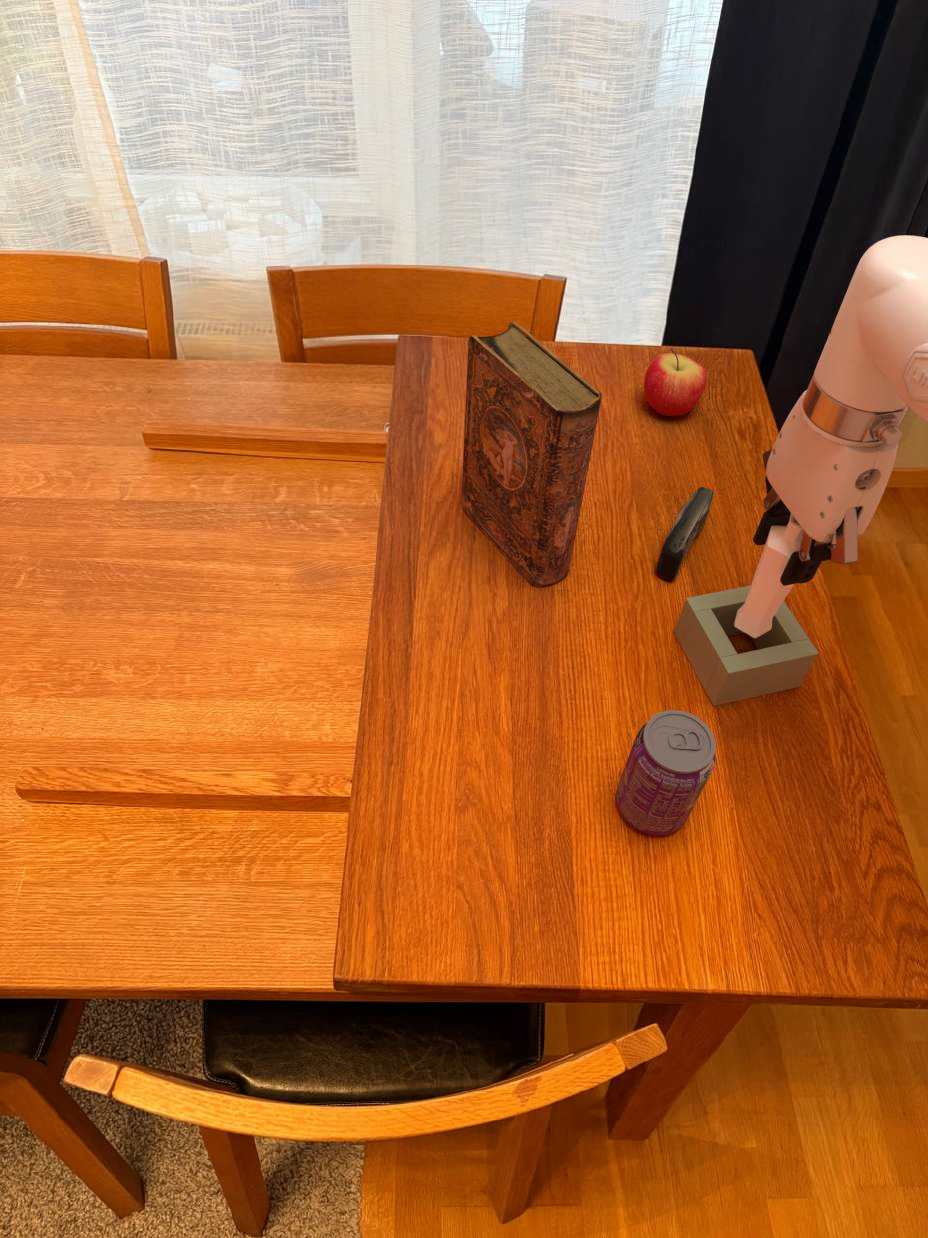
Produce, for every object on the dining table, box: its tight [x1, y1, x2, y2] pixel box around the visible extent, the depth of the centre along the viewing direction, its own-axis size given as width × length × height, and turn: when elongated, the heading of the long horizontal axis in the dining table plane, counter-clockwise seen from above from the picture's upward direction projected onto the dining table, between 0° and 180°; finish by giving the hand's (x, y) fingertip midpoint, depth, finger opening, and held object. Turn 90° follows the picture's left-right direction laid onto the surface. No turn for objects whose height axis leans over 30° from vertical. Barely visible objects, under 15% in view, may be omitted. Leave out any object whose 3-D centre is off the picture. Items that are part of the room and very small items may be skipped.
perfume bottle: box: [734, 513, 804, 638], centre depth 83 cm, size 5×4×15 cm
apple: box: [643, 347, 708, 417], centre depth 118 cm, size 8×8×10 cm
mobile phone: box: [655, 486, 714, 582], centre depth 103 cm, size 5×3×15 cm
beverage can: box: [615, 709, 717, 836], centre depth 78 cm, size 7×7×12 cm
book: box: [461, 320, 603, 589], centre depth 95 cm, size 16×6×25 cm, turn 33°
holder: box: [673, 584, 820, 707], centre depth 92 cm, size 10×10×6 cm
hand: (781, 559), depth 82 cm, fingers closed on perfume bottle, 4 cm apart
